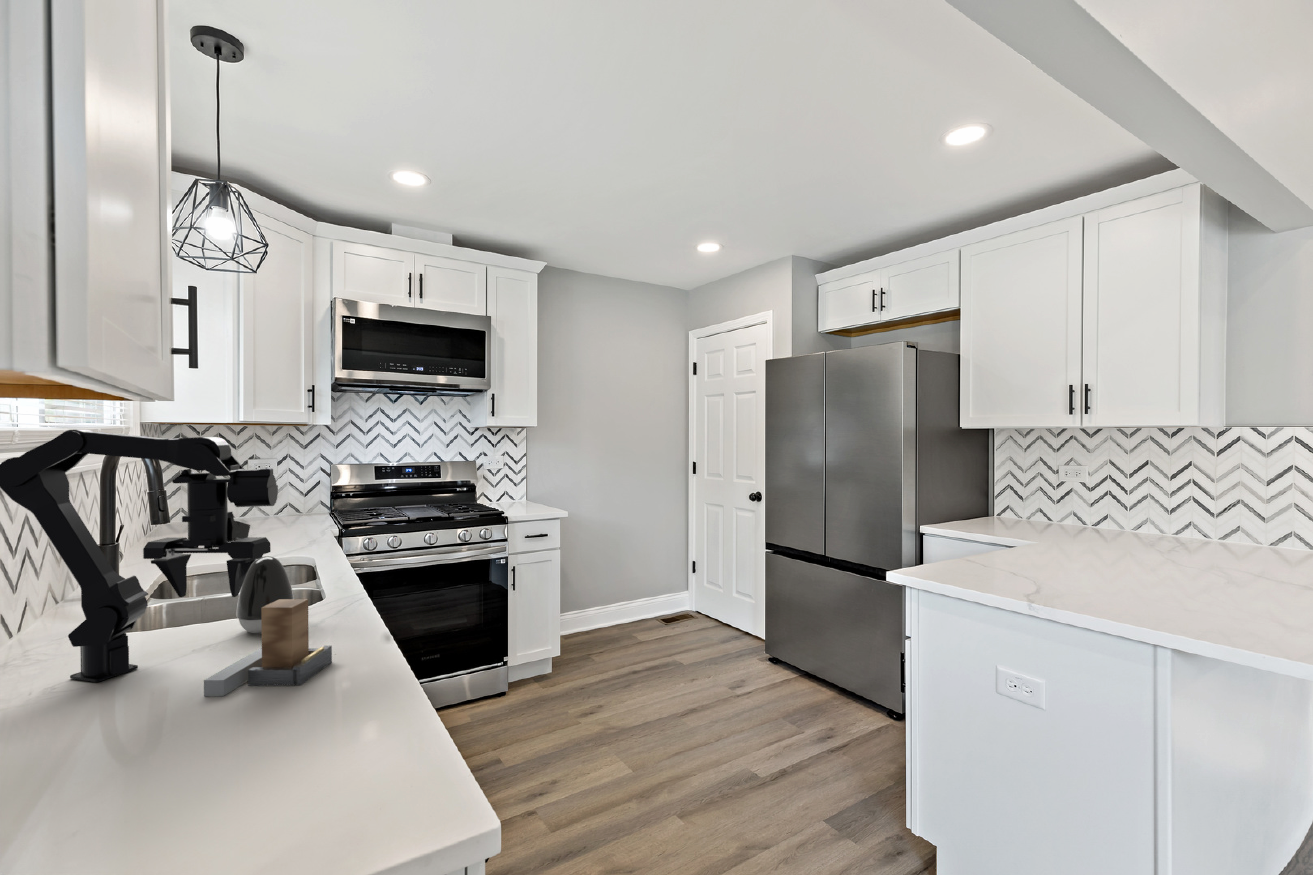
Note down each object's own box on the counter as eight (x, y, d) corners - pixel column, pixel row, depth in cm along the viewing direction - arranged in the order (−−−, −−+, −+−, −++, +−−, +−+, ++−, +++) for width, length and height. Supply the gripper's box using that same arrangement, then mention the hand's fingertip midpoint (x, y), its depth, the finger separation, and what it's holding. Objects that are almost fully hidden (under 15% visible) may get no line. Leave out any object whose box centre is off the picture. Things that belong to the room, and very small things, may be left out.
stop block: (262, 679, 104) (261, 607, 103) (279, 667, 109) (279, 599, 108) (292, 679, 104) (291, 607, 104) (308, 667, 109) (308, 599, 109)
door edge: (203, 696, 97) (203, 680, 97) (273, 654, 115) (273, 640, 115) (223, 696, 97) (223, 680, 97) (289, 654, 115) (289, 640, 115)
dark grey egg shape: (280, 618, 136) (280, 549, 136) (303, 627, 130) (303, 555, 130) (227, 631, 128) (227, 557, 128) (249, 641, 122) (248, 563, 122)
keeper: (248, 685, 101) (248, 664, 101) (284, 662, 111) (284, 643, 111) (300, 685, 101) (300, 664, 101) (331, 662, 111) (331, 643, 111)
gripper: (287, 502, 118) (288, 585, 118) (188, 502, 118) (189, 585, 118) (250, 510, 107) (251, 601, 107) (139, 510, 106) (141, 601, 107)
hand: (208, 596), depth 110 cm, fingers open, 9 cm apart
